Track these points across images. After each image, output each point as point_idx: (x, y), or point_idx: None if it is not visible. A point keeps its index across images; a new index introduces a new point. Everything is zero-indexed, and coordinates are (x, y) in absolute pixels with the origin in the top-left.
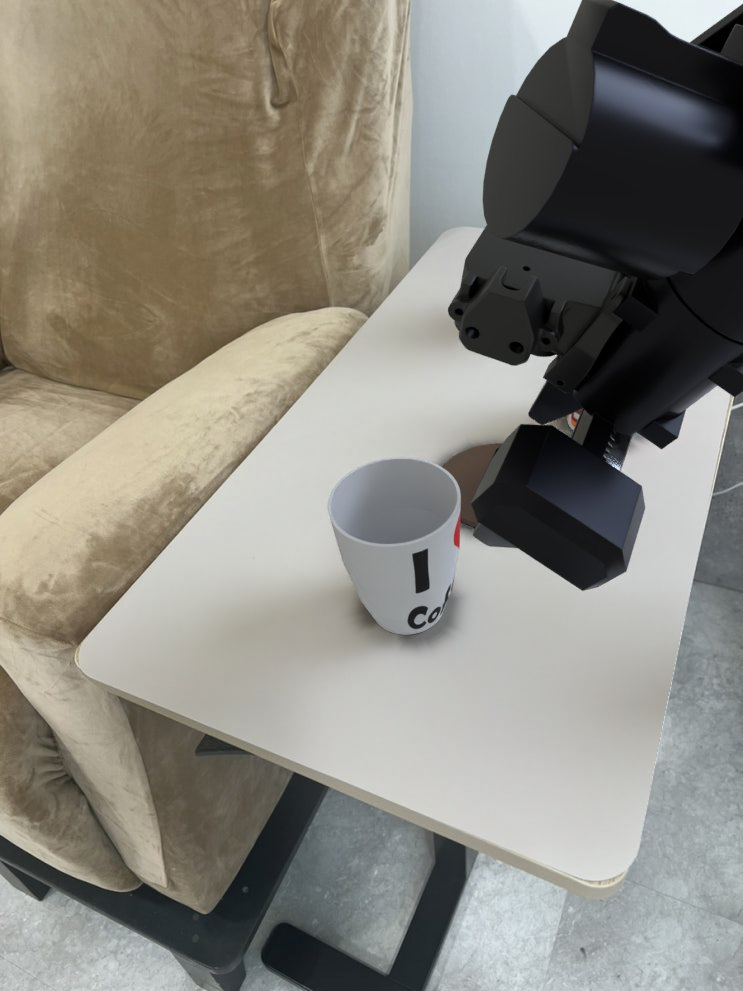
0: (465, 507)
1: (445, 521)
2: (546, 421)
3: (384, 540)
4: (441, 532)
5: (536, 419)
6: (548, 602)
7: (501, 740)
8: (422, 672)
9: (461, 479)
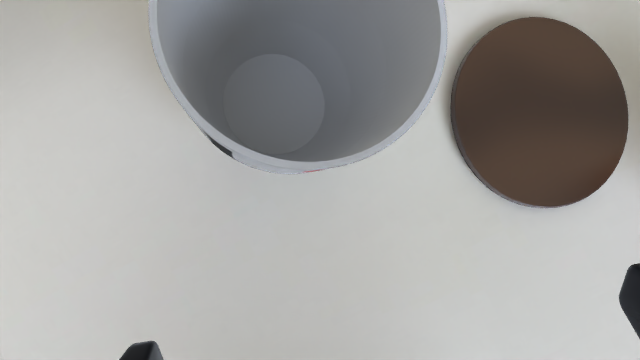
0: (476, 90)
1: (379, 110)
2: (632, 318)
3: (326, 22)
4: (267, 164)
5: (628, 289)
6: (374, 277)
7: (136, 328)
8: (181, 181)
9: (524, 57)
